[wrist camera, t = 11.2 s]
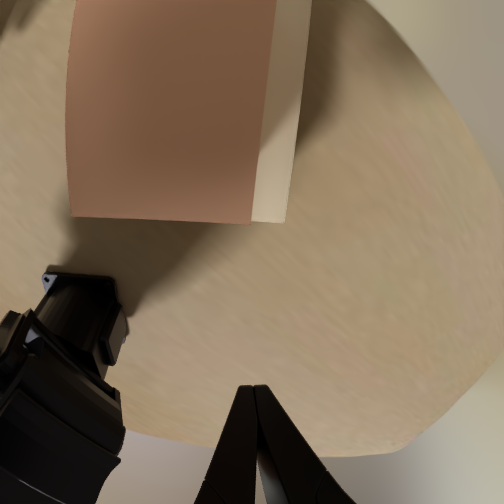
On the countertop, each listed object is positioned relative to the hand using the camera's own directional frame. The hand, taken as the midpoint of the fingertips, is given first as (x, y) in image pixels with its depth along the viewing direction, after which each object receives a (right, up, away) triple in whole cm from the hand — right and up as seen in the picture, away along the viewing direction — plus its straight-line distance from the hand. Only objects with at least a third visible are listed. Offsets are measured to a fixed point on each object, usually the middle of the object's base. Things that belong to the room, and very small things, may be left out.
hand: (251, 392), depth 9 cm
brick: (-3, +10, +2) cm, 11 cm away
